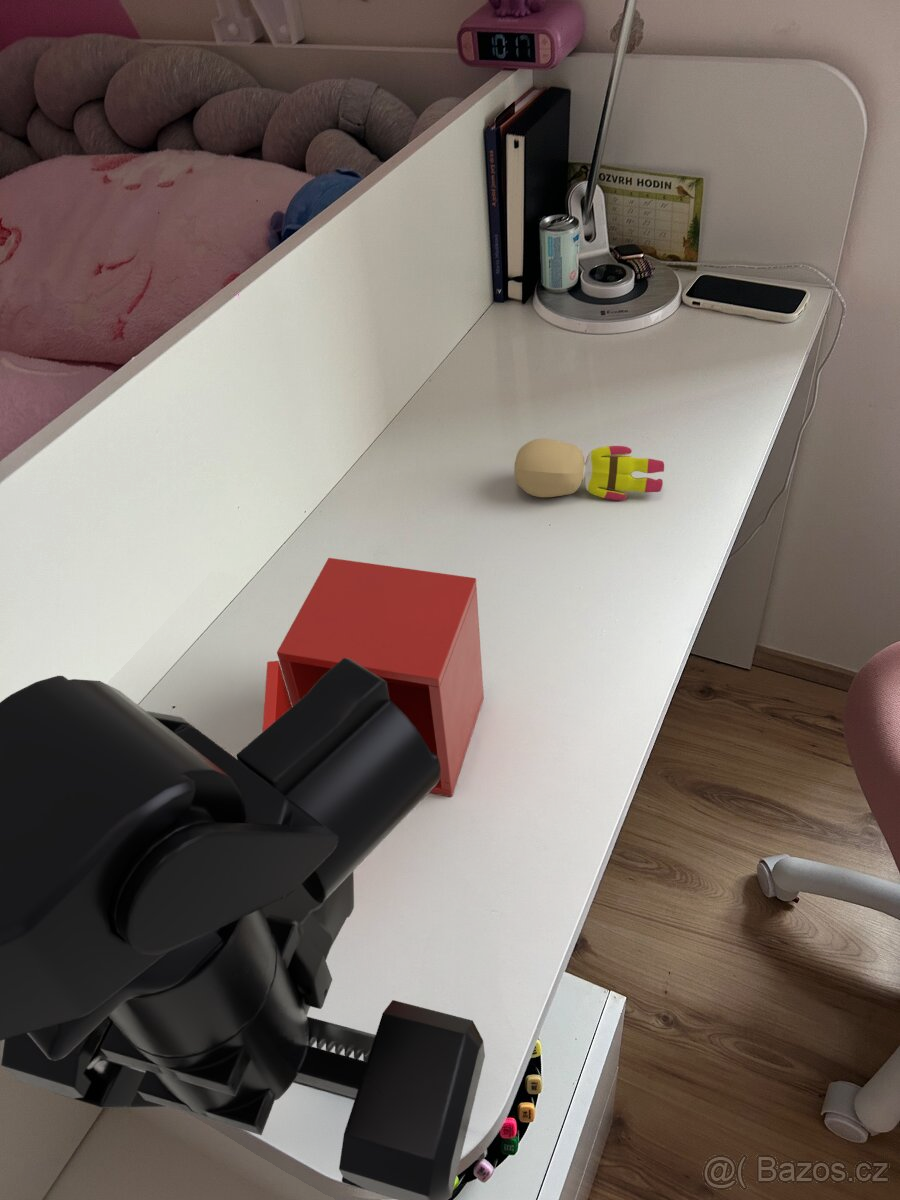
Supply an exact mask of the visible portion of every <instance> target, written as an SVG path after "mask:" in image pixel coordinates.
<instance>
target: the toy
mask: <svg viewBox="0 0 900 1200" xmlns="http://www.w3.org/2000/svg"><path fill="white" fill-rule="evenodd" d="M631 453H632V448H630V447H629V446H624V445H608V446H607V445H606V446H601V447H598V448H594V449H592V450H591V451H590V452H589V453H588V455H587V456H586V460H585V457H584V454H583V452H582V450H581V448H580V447H579V446H577V445H575V444H573V443H569V442H563V441H561V440H557V439H551V438H535V439H533V440H530V441H528V442H527V443H525V444H524V445H522V446H521V447H520V448H519V450H518V451H517V453H516V457H515V461H514V467H513V468H514V469H513V471H514V478H515V482H516V484H517V485H518V486H519V487H520V489H522V490H523V492H525V493H527V494H528V495H530V496H533V497H537V498H553V497H560V496H568V495H572V494H574V493H576V492H577V491H578V490H579V489H580V487H581V486H582V483H584V487H585V489H586V491H587V492H589V494H591V495H594V496H596V497H599V498H602V499H607V500H613V501H623V500H625V499H627V497H628V494H627V493H626V492H640V493H660V492H661V491H662V489H663V484H664V481H663V479H661V478H657V479H655V478H651V477H634V476H633V475H632V474H633V473H634V472H640V473H645V474H655V473H664V472H665V461H663V460H659V459H654V458H645V457H635V456H631V455H630V454H631Z"/></svg>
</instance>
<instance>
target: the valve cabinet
mask: <svg viewBox="0 0 900 1200" xmlns="http://www.w3.org/2000/svg"><path fill="white" fill-rule="evenodd" d="M324 563H325V564H324V565H323V567H322V569H321V571H320V572H319V575H318V576H317V578H316V580H315V582H314V583H313V585H312V587H311V589H310V591H309V593H308V594H307V596H306V598H305V600H304V602H303V604H302V605H301V607H300V609H299V611H298V613H297V615H296V616H295V618H294V620H293V622H292V624H291V626H290V627H289V629H288V631H287V632H286V635H285V636H284V639H282V642H281V644H280V646H279V647H278V649H277V651H276V654H277V658H278V661H279V664H280V667H281V671H282V674H283V677H284V681H285V684H286V688H287V691H288V695H289V698H290V701H291V705H292V706H294V705H295V704H296V703H297V702H298V701H299V700H301V699H302V698H303V697H304V696H305V695H306V694H307V693H308V692H309V691H310V690H311V689H312V687H313V686H314V685H315V684H316V683H317V682H318V681H319V679H320V678H321V677H322V676H323V675H325V674H326V673H327V672H328V671H329V670H330V669H331V668H333V667H334V666H335V665H336V664H337V663H338V662H340V661H341V660H342V659H343V658H349V659H351V660H353V661H354V662H356V663H357V664H359V665H361V666H362V667H364V668H365V669H367V670H369V671H370V672H372V673H374V674H375V675H377V676H378V677H380V678H382V679H383V680H385V681H386V682H387V688H388V693H389V699H390V700H391V701H392V702H393V703H394V704H395V705H396V706H397V707H398V708H399V709H400V710H401V711H402V712H403V713H404V714H405V715H406V716H407V717H408V719H409V720H410V721H411V723H412V724H413V725H414V726H415V728H416V729H417V730H418V731H419V733H420V734H421V736H422V738H423V739H424V741H425V743H426V744H427V746H428V747H429V750H430V751H431V752H433V753H434V754H435V755H436V756H437V757H438V759H439V762H440V768H441V774H440V780H439V781H438V783H437V785H436V786H435V787H434V788H433V789H432V790H431V791H430V792H429V793H430V794H435V795H440V796H446V797H450V798H452V797H453V795H454V793H455V789H456V785H457V783H458V781H459V776H460V774H461V770H462V767H463V764H464V762H465V758H466V754H467V752H468V748H469V745H470V742H471V740H472V737H473V733H474V731H475V727H476V725H477V720H478V717H479V714H480V711H481V708H482V705H483V702H484V699H485V696H484V695H485V694H484V680H483V666H482V665H483V663H482V650H481V634H480V633H481V632H480V620H479V619H480V618H479V603H478V589H477V578H476V577H470V576H465V575H457V574H450V573H442V572H435V571H428V570H422V569H421V570H419V569H414V568H407V567H406V568H405V567H399V566H391V565H384V564H376V563H370V562H362V561H356V560H355V561H354V560H347V559H341V558H335V557H334V558H333V557H328V558H327V559H326V561H325V562H324ZM429 793H428V794H429Z"/></svg>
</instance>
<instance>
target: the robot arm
mask: <svg viewBox="0 0 900 1200" xmlns="http://www.w3.org/2000/svg"><path fill="white" fill-rule="evenodd" d="M235 756H236V757H235ZM235 756H234V755H232V754H231V753H229V752H228V751H227V750H225V749H224V748H223V747H222V746H221V745H219V744H218V743H216V742H215V741H214V740H212V739H211V738H210V737H208V736H207V735H206V734H204V733H203V732H202V731H201V730H199V729H198V728H197V727H195V726H194V725H192V724H191V723H190V722H188V720H186V719H185V718H183V717H181V716H177V715H171V714H165V713H161V712H154V711H150V710H149V711H148V710H145V709H144V708H142V707H141V706H140V705H139V704H138V703H136V701H135V702H134V700H132V699H131V698H130V697H128V695H126V694H125V693H123V692H122V691H121V690H119V689H117V688H115V687H113V686H111V685H109V684H107V683H105V682H104V681H101V680H95V679H94V680H93V679H92V680H91V679H77V678H72V679H68V678H67V677H66V676H64V675H55V676H51V677H48V678H45V679H41V680H38V681H35V682H33V683H31V684H28V685H27V686H25V687H23V688H20V689H19V690H18V691H15V692H13V693H12V694H10V695H9V696H6V697H5V698H4V699H3V700H1V701H0V1066H1V1067H2V1068H3V1069H4V1070H6V1072H8V1073H9V1074H10V1075H11V1076H12V1077H13V1078H14V1079H16V1081H18V1082H19V1083H22V1084H25V1085H28V1086H31V1087H35V1088H38V1089H41V1090H45V1091H48V1092H51V1093H53V1094H56V1095H59V1096H62V1097H66V1098H69V1099H71V1100H75V1101H79V1102H81V1103H84V1104H88V1105H91V1106H94V1107H97V1108H101V1109H129V1108H170V1109H174V1110H177V1111H180V1112H183V1113H187V1114H190V1115H194V1116H196V1117H200V1118H203V1119H207V1120H210V1121H212V1122H217V1123H219V1124H223V1125H227V1126H229V1127H233V1128H236V1129H239V1130H242V1131H246V1132H248V1133H252V1134H256V1135H258V1136H263V1133H264V1131H265V1127H266V1124H267V1123H268V1119H269V1116H270V1115H271V1112H272V1109H273V1106H274V1103H275V1101H278V1100H279V1099H281V1098H282V1097H283V1095H285V1093H287V1091H288V1090H289V1088H290V1087H291V1086H292V1085H293V1084H295V1085H300V1086H303V1087H306V1088H310V1089H314V1090H316V1091H321V1092H324V1093H327V1094H331V1095H334V1096H338V1097H342V1098H345V1099H349V1100H352V1101H353V1103H352V1107H351V1110H350V1113H349V1117H348V1120H347V1123H346V1126H345V1129H344V1132H343V1137H342V1143H341V1144H342V1145H341V1152H340V1159H339V1165H338V1170H339V1172H340V1174H341V1176H342V1177H341V1183H343V1184H345V1185H349V1186H351V1187H355V1188H358V1189H361V1190H365V1191H368V1192H371V1193H375V1194H378V1195H381V1196H384V1197H387V1198H391V1199H394V1200H449V1199H451V1198H452V1196H453V1193H454V1189H455V1188H454V1187H455V1184H456V1179H457V1175H458V1171H459V1168H460V1163H461V1158H462V1155H463V1150H464V1146H465V1142H466V1137H467V1133H468V1129H469V1125H470V1120H471V1117H472V1112H473V1109H474V1103H475V1099H476V1096H477V1091H478V1087H479V1084H480V1079H481V1074H482V1071H483V1066H484V1063H485V1062H484V1061H485V1059H486V1053H485V1045H484V1039H483V1038H482V1036H481V1034H480V1032H479V1030H478V1027H477V1026H476V1024H475V1022H474V1020H472V1019H469V1018H466V1017H465V1018H464V1017H460V1016H456V1015H453V1014H449V1013H446V1012H441V1011H438V1010H433V1009H430V1008H427V1007H422V1006H418V1005H414V1004H410V1003H406V1002H403V1001H398V1000H395V999H392V1000H391V1001H390V1003H389V1004H388V1005H387V1007H386V1008H385V1009H384V1010H383V1012H382V1013H381V1017H380V1021H379V1023H378V1026H377V1030H376V1032H375V1034H374V1033H371V1032H368V1031H367V1032H366V1031H363V1030H359V1029H356V1028H352V1027H347V1026H344V1025H341V1024H336V1023H332V1022H329V1021H325V1020H322V1019H318V1018H314V1017H310V1016H308V1014H309V1011H310V1008H314V1009H318V1010H321V1009H322V1008H323V1007H324V1003H325V1001H326V999H327V996H328V993H329V990H330V987H331V985H332V982H333V977H332V974H331V972H330V969H329V966H328V964H327V959H328V956H329V954H330V951H331V948H332V946H333V945H334V943H335V941H336V939H337V937H338V935H339V934H340V932H341V930H342V928H343V926H344V924H345V922H346V921H347V919H348V918H349V917H350V916H351V914H352V913H353V911H354V908H355V881H354V879H355V878H354V871H356V869H357V868H358V867H359V866H360V865H361V864H362V863H363V862H364V861H365V860H366V859H367V858H368V856H369V855H370V854H372V852H373V851H374V850H376V848H377V847H378V846H379V845H380V844H381V843H382V842H383V841H384V840H385V839H386V838H387V837H388V836H389V835H390V834H391V833H392V831H393V830H394V829H395V828H397V826H398V825H399V824H400V823H401V822H403V820H404V819H405V818H406V817H407V816H408V815H409V814H410V813H411V812H412V811H413V810H414V809H415V808H416V807H417V806H418V805H419V803H420V802H422V800H423V799H425V797H427V795H428V794H429V792H430V791H431V790H432V789H433V788H434V787H435V786H436V785H437V783H438V781H439V780H440V774H441V768H440V762H439V759H438V757H437V756H436V755H435V754H434V753H433V752H431V751H430V750H429V747H428V746H427V744H426V743H425V741H424V739H423V738H422V736H421V734H420V733H419V731H418V730H417V729H416V728H415V726H414V725H413V724H412V723H411V721H410V720H409V719H408V717H407V716H406V715H405V714H404V713H403V712H402V711H401V710H400V709H399V708H398V707H397V706H396V705H395V704H394V703H393V702H392V701H391V700H390V699H389V693H388V688H387V682H386V681H385V680H383V679H382V678H380V677H378V676H377V675H375V674H374V673H372V672H370V671H369V670H367V669H365V668H364V667H362V666H361V665H359V664H357V663H356V662H354V661H353V660H351V659H349V658H343V659H342V660H341V661H340V662H338V663H337V664H336V665H335V666H334V667H333V668H331V669H330V670H329V671H328V672H327V673H326V674H325V675H323V676H322V677H321V678H320V679H319V681H318V682H317V683H316V684H315V685H314V686H313V687H312V689H311V690H310V691H309V692H308V693H307V694H306V695H305V696H304V697H303V698H302V699H301V700H299V701H298V702H297V703H296V704H295V705H294V706H292V707H291V708H290V709H289V710H288V711H287V712H286V713H284V714H283V715H282V716H281V717H280V718H279V719H277V720H276V721H275V722H274V723H273V724H272V725H270V726H269V727H268V728H267V729H266V730H265V731H263V732H262V731H261V733H260V734H259V735H257V736H256V737H255V738H254V739H253V740H252V741H251V742H249V743H248V744H247V745H246V746H245V747H243V748H242V749H241V750H240V751H239V752H238V753H237V754H236V755H235ZM315 1043H316V1046H314V1045H315ZM324 1046H325V1049H323V1047H324ZM332 1050H334V1052H333V1051H332ZM343 1051H344V1053H343V1054H341V1053H342V1052H343ZM352 1053H353V1057H351V1055H352ZM361 1056H362V1058H363V1059H360V1058H361Z"/></svg>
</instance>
